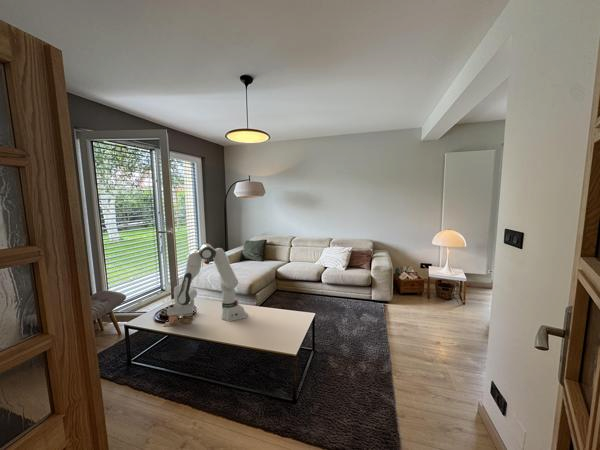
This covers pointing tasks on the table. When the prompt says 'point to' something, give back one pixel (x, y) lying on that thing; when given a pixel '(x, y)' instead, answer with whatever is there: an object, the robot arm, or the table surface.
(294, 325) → the table surface
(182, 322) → the chute
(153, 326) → the table surface
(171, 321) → the block
